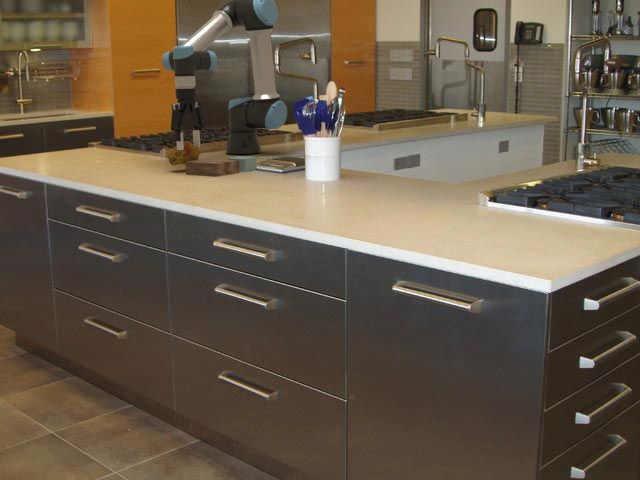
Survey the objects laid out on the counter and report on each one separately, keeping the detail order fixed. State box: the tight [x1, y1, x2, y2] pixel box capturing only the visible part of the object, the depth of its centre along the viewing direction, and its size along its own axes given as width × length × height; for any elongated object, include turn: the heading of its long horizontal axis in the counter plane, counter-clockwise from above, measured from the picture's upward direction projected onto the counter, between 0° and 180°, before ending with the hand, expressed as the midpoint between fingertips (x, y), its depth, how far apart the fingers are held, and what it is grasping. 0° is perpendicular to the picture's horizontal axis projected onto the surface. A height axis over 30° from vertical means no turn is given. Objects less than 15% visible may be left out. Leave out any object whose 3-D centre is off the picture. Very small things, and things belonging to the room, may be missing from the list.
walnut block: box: [185, 158, 241, 178], centre depth 328 cm, size 14×14×5 cm
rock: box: [167, 140, 200, 166], centre depth 337 cm, size 11×8×10 cm
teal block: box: [226, 155, 258, 173], centre depth 339 cm, size 8×8×5 cm
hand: (188, 148), depth 336 cm, fingers closed on rock, 8 cm apart
